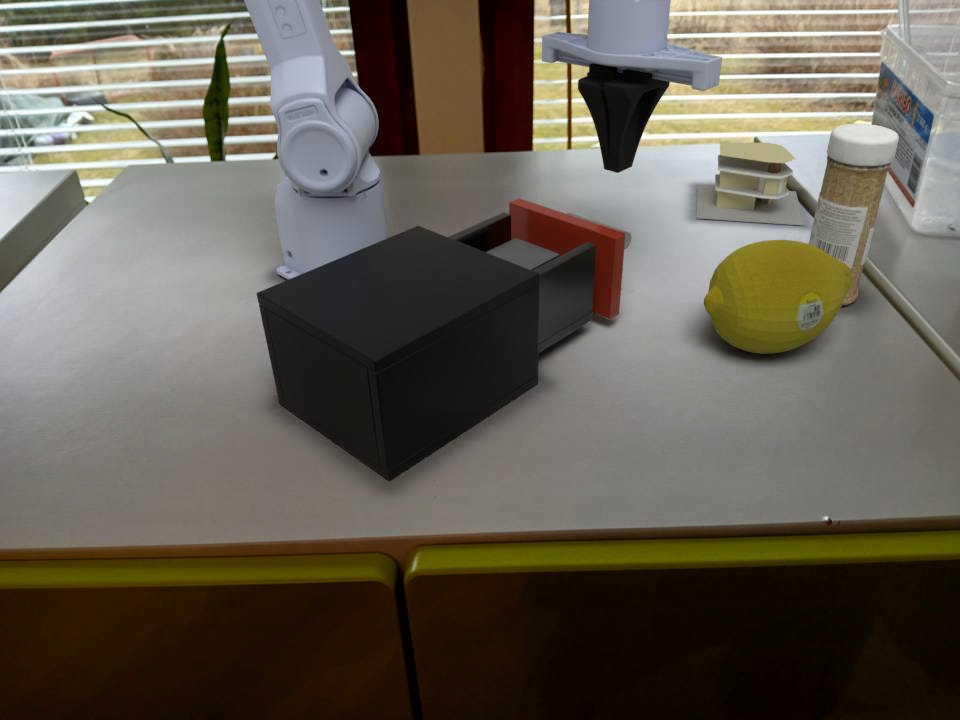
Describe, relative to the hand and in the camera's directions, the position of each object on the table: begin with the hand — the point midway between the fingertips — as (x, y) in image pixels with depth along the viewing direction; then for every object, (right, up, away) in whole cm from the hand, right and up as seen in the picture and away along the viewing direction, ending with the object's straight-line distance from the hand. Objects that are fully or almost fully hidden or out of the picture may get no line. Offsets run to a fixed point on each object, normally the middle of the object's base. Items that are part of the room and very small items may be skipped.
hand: (618, 167), depth 63 cm
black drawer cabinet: (-16, -18, -8) cm, 25 cm away
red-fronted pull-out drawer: (-7, -12, -1) cm, 13 cm away
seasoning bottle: (+17, -10, +2) cm, 20 cm away
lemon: (+10, -14, -4) cm, 18 cm away
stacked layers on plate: (+16, 0, +18) cm, 24 cm away
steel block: (-8, -11, -3) cm, 14 cm away
